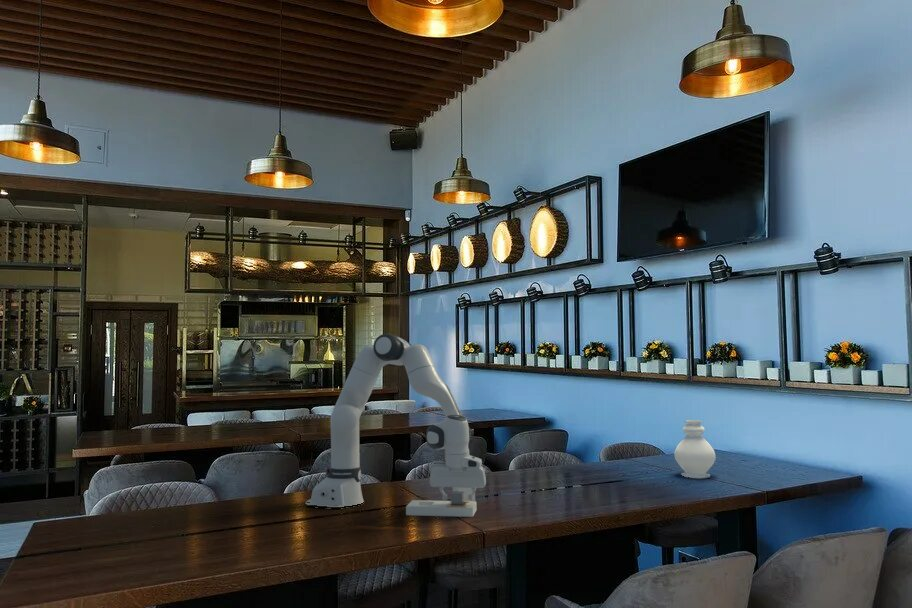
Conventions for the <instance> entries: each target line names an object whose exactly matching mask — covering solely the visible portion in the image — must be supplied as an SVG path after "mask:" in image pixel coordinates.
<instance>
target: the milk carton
mask: <svg viewBox="0 0 912 608" xmlns="http://www.w3.org/2000/svg"><path fill="white" fill-rule="evenodd" d="M453 491H463V492H464V501H476V492H475V493H474V494H473V500H469V494H472V492H473V491H472V488H464V487H452V492H453Z"/></svg>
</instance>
